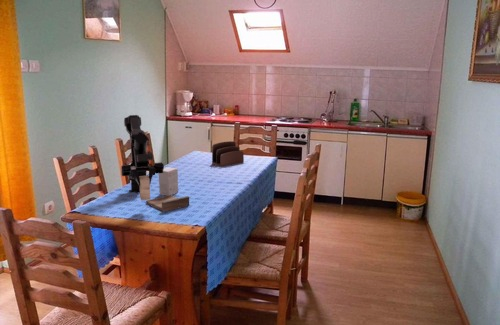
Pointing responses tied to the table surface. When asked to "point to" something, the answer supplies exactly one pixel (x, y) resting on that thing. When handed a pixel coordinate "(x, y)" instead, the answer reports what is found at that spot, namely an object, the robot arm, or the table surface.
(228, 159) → the letter holder
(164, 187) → the small box
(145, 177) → the beige rectangular block
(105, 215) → the table surface
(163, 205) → the brown wooden tray
